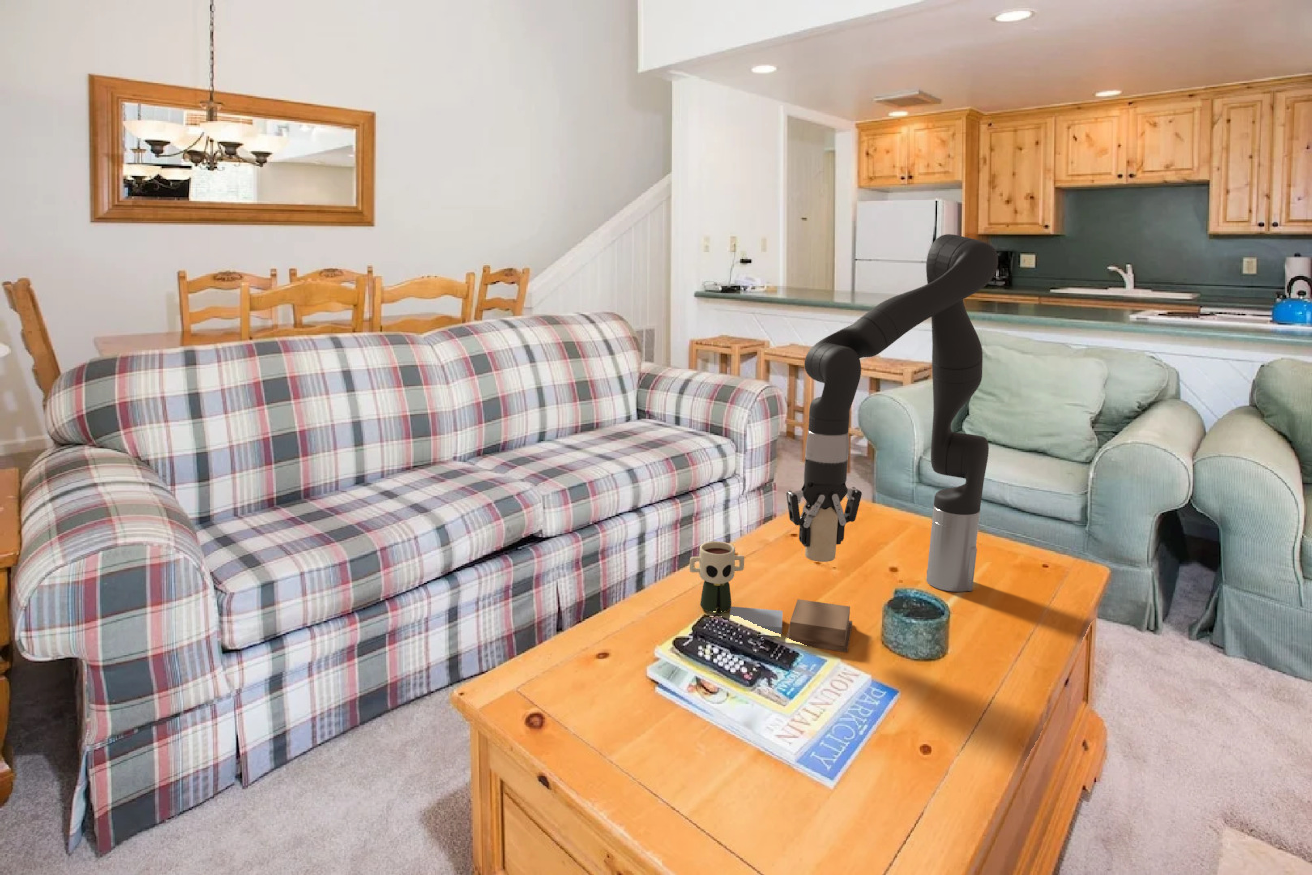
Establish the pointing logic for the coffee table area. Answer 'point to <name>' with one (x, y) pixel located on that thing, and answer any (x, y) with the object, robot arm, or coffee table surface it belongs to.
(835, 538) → the candle
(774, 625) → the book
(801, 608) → the stand
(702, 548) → the character mug
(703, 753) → the coffee table surface
